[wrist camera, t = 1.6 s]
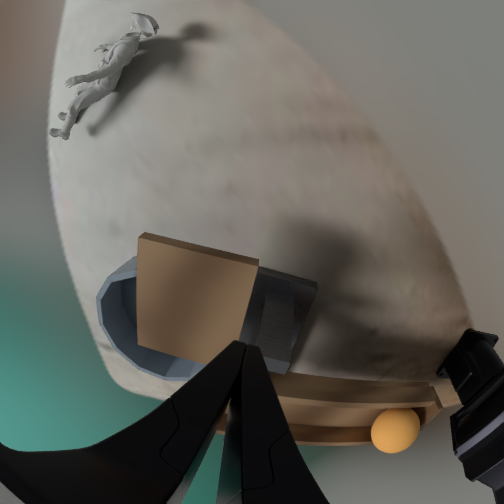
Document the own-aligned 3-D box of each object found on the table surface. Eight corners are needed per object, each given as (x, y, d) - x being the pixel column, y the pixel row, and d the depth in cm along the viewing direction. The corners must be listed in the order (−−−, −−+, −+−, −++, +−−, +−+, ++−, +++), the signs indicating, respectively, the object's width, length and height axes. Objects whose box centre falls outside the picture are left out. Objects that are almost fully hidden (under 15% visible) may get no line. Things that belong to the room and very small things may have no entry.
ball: (415, 392, 17) (437, 427, 13) (390, 419, 18) (407, 453, 15) (380, 400, 16) (402, 442, 12) (355, 428, 17) (371, 467, 14)
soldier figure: (67, 98, 19) (120, -6, 11) (107, 110, 22) (168, 13, 15) (41, 148, 16) (90, 11, 8) (90, 161, 19) (158, 36, 11)
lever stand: (316, 282, 21) (323, 356, 13) (272, 386, 26) (261, 454, 18) (254, 265, 21) (230, 332, 13) (225, 374, 26) (204, 439, 18)
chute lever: (475, 307, 14) (500, 335, 11) (386, 425, 20) (393, 453, 16) (146, 230, 13) (114, 257, 10) (147, 392, 19) (133, 423, 16)
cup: (239, 273, 21) (227, 299, 18) (217, 366, 26) (207, 394, 22) (120, 237, 22) (92, 254, 18) (122, 330, 26) (103, 353, 23)
